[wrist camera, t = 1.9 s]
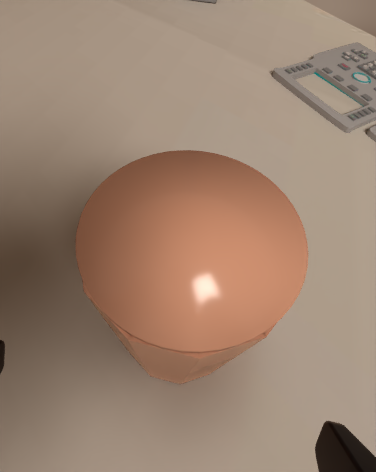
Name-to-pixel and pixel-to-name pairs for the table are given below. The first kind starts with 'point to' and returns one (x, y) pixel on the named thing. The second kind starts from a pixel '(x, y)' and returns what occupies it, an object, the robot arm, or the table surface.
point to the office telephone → (338, 83)
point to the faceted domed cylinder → (190, 259)
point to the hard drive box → (212, 0)
